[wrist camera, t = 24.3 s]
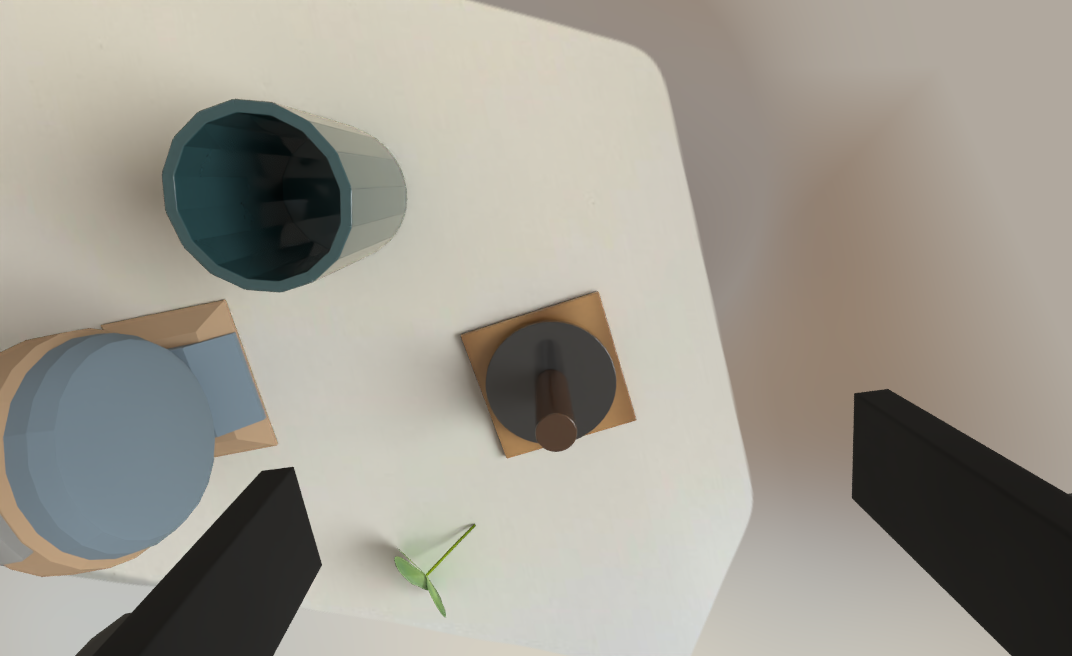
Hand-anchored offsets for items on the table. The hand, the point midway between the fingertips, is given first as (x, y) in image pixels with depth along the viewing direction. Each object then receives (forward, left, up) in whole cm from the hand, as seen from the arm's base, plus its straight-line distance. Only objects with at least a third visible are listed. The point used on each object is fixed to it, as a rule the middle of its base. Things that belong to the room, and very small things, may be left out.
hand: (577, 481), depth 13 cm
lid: (+2, +8, -28) cm, 29 cm away
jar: (+12, -10, -29) cm, 33 cm away
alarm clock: (+29, 0, -29) cm, 41 cm away
